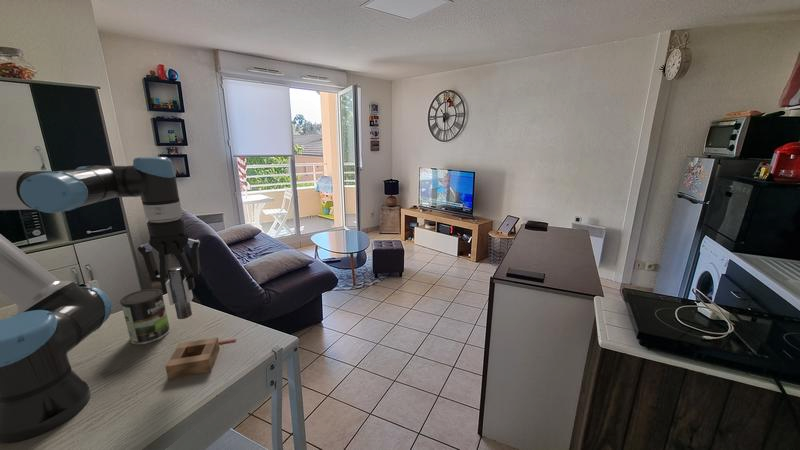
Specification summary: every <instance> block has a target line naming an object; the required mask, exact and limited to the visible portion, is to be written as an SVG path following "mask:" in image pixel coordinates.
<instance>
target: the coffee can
mask: <svg viewBox="0 0 800 450" xmlns="http://www.w3.org/2000/svg"><path fill="white" fill-rule="evenodd" d="M163 294H164V293H163V290H162V289H160V288H147V289H141V290H138V291H137V290H136V291H135V292H132V293H128V294H127V295H125V296H122V298H121V299H120V300H119V303H120V305H121V308H122V312H123V315H124V319H125V320H124V321H125V324H126V328H127V333H128V336H129V342H130V343H131V344H133V345H138V346H139V345H146V344H150V343H153V342H156V341H159V340H160V339H162V338H164V337H166V336H167V335H168V334H169V333H170V330H171V328H170V324H169V320H168V315H167V310H166V304H165V300H164V295H163Z"/></svg>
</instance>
